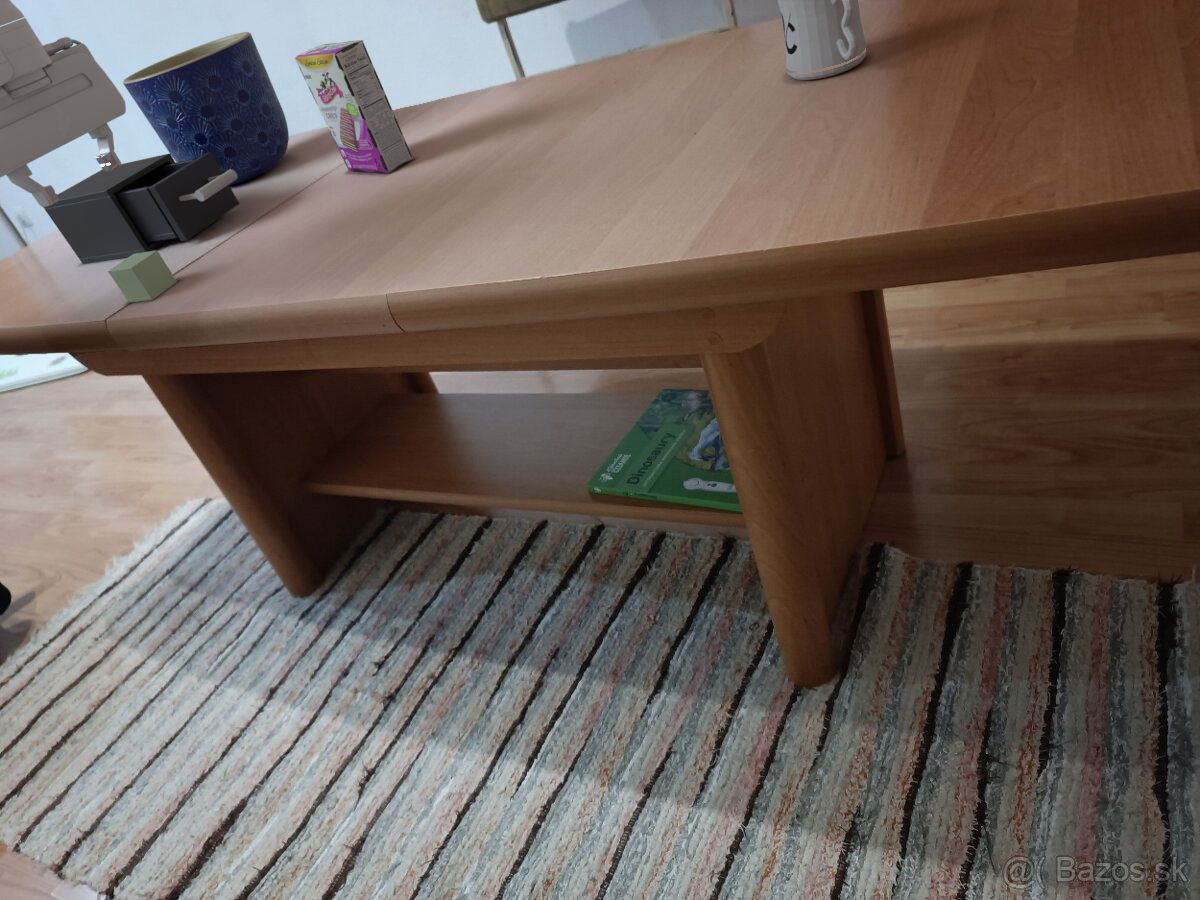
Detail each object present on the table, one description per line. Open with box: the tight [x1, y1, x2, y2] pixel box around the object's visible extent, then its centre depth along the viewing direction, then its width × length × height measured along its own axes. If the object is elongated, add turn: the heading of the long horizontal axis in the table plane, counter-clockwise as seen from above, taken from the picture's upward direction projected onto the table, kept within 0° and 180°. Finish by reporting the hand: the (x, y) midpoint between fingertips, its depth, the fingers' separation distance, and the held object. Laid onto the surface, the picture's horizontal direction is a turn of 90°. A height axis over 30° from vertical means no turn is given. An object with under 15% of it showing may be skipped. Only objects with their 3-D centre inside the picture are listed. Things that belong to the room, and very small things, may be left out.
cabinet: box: [42, 153, 176, 264], centre depth 128 cm, size 15×13×10 cm
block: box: [107, 249, 178, 303], centre depth 106 cm, size 4×4×4 cm
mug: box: [777, 0, 868, 81], centre depth 96 cm, size 12×9×10 cm
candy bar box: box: [294, 39, 414, 174], centre depth 119 cm, size 11×5×16 cm, turn 47°
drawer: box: [114, 152, 240, 243], centre depth 123 cm, size 18×11×8 cm, turn 69°
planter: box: [122, 31, 290, 187], centre depth 140 cm, size 21×21×19 cm
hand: (83, 185), depth 99 cm, fingers open, 8 cm apart
